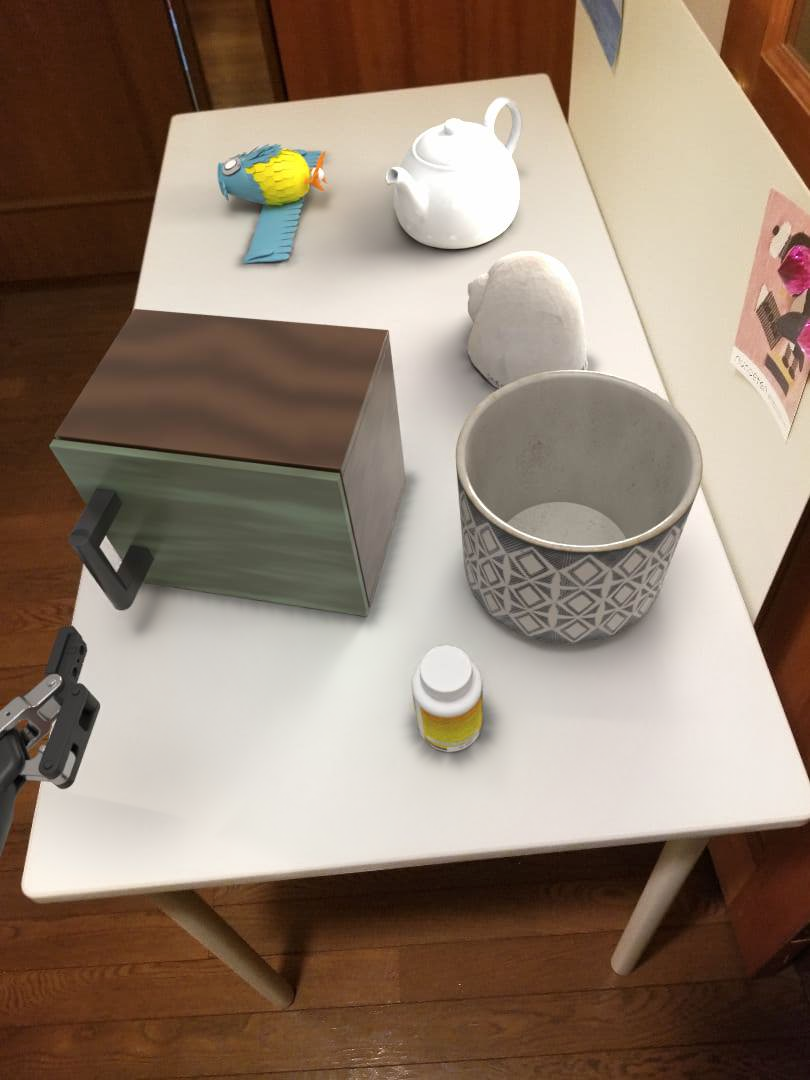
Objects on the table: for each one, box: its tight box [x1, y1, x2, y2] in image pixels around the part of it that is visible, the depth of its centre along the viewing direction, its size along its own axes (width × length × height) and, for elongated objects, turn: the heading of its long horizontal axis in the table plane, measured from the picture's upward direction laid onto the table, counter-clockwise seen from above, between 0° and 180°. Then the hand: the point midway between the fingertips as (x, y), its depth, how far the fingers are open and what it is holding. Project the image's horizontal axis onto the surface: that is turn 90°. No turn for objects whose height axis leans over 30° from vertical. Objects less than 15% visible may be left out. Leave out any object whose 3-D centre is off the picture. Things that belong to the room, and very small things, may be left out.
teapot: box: [384, 96, 523, 250], centre depth 108 cm, size 19×18×14 cm
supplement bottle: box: [411, 644, 484, 753], centre depth 65 cm, size 6×6×10 cm
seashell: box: [467, 250, 589, 389], centre depth 93 cm, size 15×14×15 cm
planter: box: [455, 370, 704, 644], centre depth 71 cm, size 19×19×16 cm
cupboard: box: [54, 308, 407, 609], centre depth 75 cm, size 16×24×20 cm, turn 78°
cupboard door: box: [48, 438, 370, 617], centre depth 68 cm, size 7×24×20 cm, turn 78°
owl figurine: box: [216, 143, 328, 265], centre depth 115 cm, size 28×9×15 cm
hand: (12, 631), depth 55 cm, fingers open, 8 cm apart
